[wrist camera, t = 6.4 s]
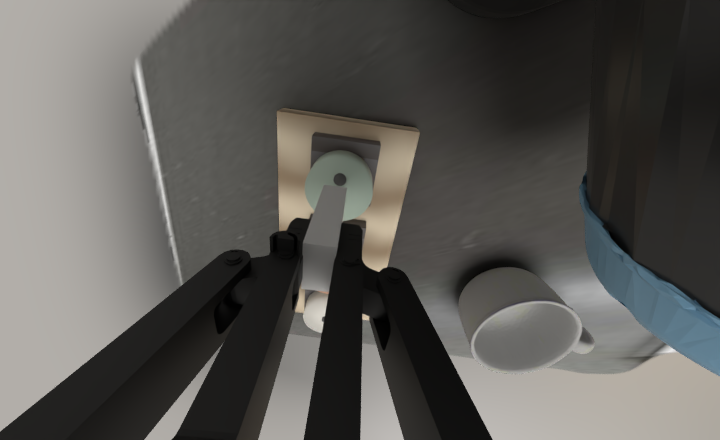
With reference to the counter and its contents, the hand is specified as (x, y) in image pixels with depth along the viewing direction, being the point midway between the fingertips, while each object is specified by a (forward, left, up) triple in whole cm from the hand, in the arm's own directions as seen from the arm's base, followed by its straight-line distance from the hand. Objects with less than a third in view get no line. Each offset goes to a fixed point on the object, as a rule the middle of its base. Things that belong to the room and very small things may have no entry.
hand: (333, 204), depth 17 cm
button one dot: (+16, 0, -7) cm, 17 cm away
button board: (+8, 0, -9) cm, 12 cm away
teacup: (+14, +22, -10) cm, 28 cm away
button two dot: (0, 0, -6) cm, 6 cm away
